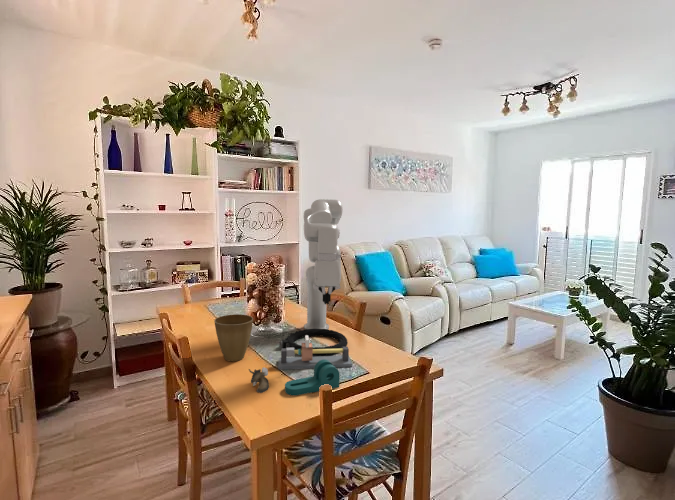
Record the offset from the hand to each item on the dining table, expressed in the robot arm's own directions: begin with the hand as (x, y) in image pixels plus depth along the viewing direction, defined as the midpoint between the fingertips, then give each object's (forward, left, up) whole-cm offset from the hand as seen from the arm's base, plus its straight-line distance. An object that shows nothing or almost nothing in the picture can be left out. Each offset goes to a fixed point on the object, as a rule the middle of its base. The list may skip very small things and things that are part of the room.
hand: (326, 303), depth 148 cm
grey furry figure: (+20, -25, -24) cm, 40 cm away
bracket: (+22, -7, -24) cm, 33 cm away
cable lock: (-17, -3, -24) cm, 29 cm away
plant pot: (-5, -36, -24) cm, 43 cm away
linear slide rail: (+3, -4, -23) cm, 24 cm away
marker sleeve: (+3, -8, -21) cm, 22 cm away
